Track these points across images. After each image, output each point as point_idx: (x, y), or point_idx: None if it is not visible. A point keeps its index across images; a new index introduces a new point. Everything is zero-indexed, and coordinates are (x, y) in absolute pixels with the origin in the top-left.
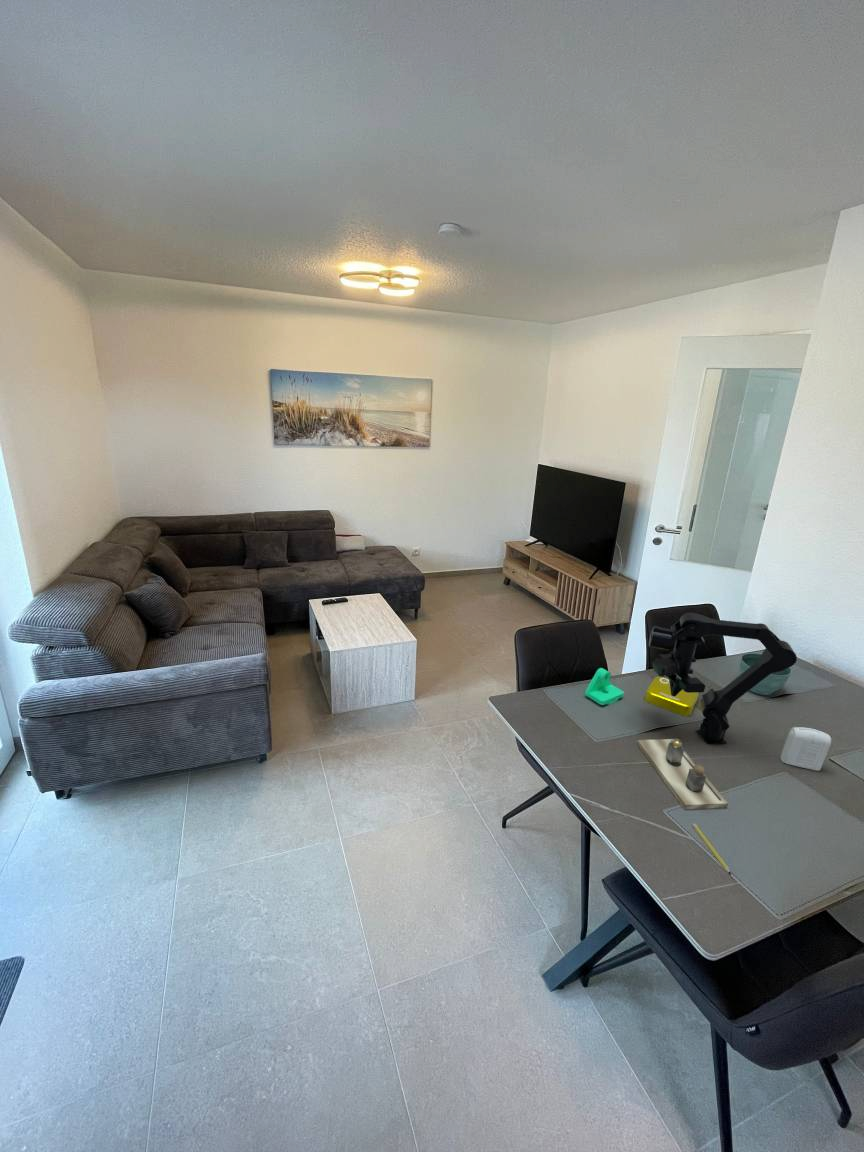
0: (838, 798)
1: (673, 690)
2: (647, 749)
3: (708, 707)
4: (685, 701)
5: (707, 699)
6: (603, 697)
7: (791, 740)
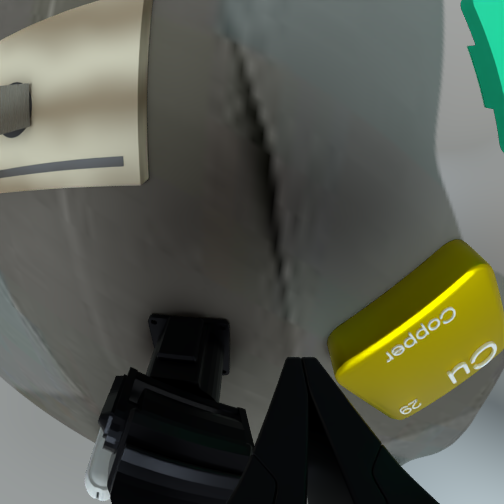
0: (45, 404)
1: (271, 426)
2: (77, 17)
3: (119, 447)
4: (369, 374)
5: (171, 483)
6: (497, 27)
7: (95, 462)
